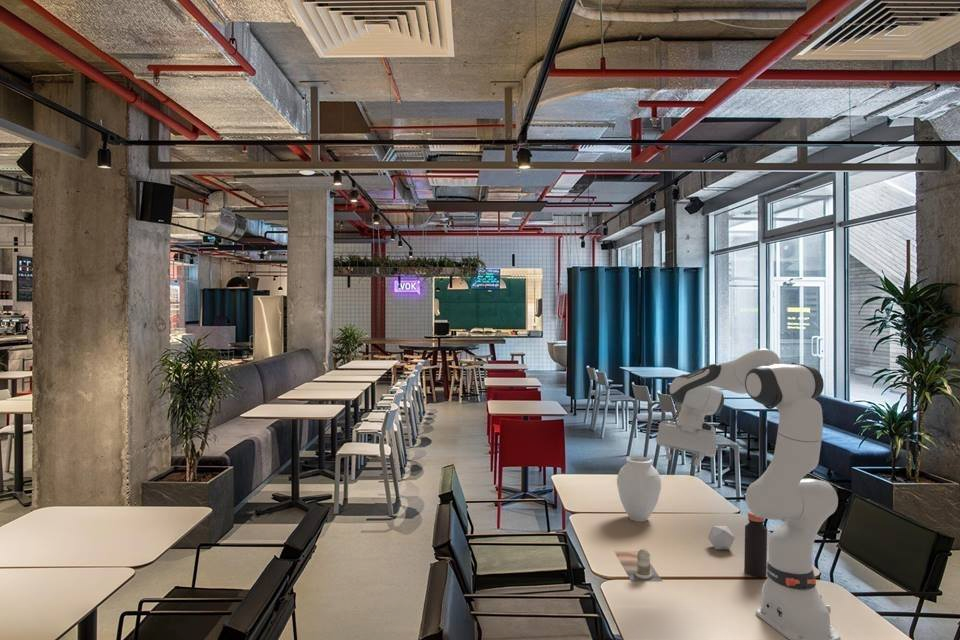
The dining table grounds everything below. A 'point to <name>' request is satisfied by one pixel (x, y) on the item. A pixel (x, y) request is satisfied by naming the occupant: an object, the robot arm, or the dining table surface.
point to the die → (721, 537)
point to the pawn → (643, 565)
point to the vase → (639, 487)
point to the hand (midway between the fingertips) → (682, 462)
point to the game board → (634, 565)
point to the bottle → (755, 546)
